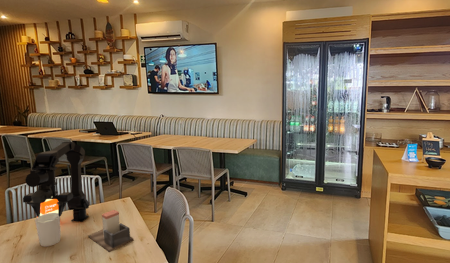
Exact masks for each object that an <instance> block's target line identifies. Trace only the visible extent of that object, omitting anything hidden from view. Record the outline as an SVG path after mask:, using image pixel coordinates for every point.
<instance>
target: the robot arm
mask: <svg viewBox="0 0 450 263" xmlns="http://www.w3.org/2000/svg"><path fill="white" fill-rule="evenodd" d="M85 155H86V151H85V149H84V148H83V147H82V146H81V145H78V144H76V143H75V142H74V141H63V142H61V144H59V145H57V146H56V147H54V148H53V149H50V150H48V151H47V150H46V151H43V152H39V153H38V154H37V155H36V156H35V160H34V162H33V165H32V166H31V169H30V172H29V174H27V175H26V177H25V183H26V185H27V186H28V187H30V188H36V187H37V190H35V191H34V192H29V193H27V194H25V195H23V197H22V203H25V204H26V205H29V206H30V207H32V209H33V211H34V214H35V215H36V218H37V217H39V216H40V207H41V203H44V202H45V201H46V199H57V200H58V202H57V204H58V214H59V216H60V217H61V216H62V214H63V212H64V210H65V207H66V204H67V207H68V210H69V211H72V215H73V218H72V219H71V220H70V221H71V222H80V223H82V222H84V221H85V220H86V219H88V218H89V217H90V215H88V214H87V209H89V208H90V202H89V201H88V200H87V199H86V194H85V192H84V191H83V189H82V185H83V184H82V162H83V161H84V160H85ZM63 156H66V160H67V162H68V163H69V165H70V185H71V186H70V187H71V188H70V189H71V190H70V191H67V192H66V191H65V192H64V191H63V192H62V193H59V192H58V190H57V188H56V186H57V185H58V182H57V181H56V170H57V169H58V166H57V164H58V163H59V161H60V160H59V159H60V158H61V157H63ZM58 193H59V194H58Z"/></svg>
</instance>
